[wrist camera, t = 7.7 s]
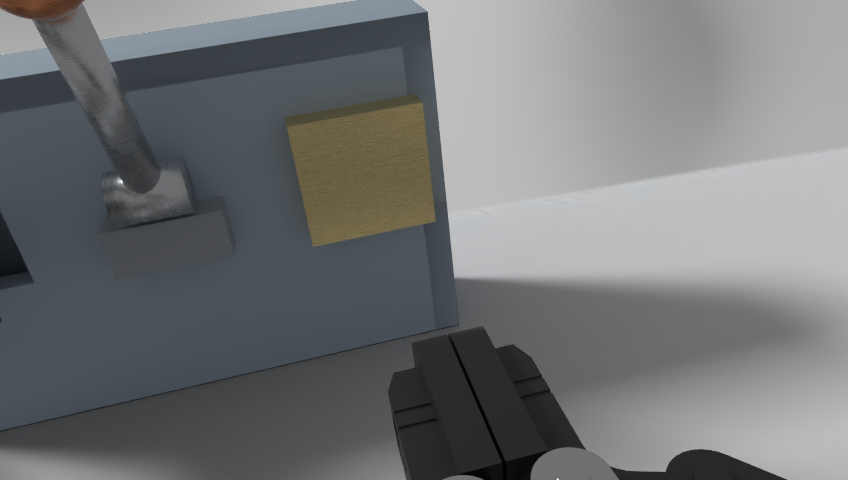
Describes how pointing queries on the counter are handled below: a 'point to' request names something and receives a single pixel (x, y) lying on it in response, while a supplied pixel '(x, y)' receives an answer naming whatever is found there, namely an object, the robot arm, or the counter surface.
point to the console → (205, 213)
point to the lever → (109, 117)
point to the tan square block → (363, 168)
